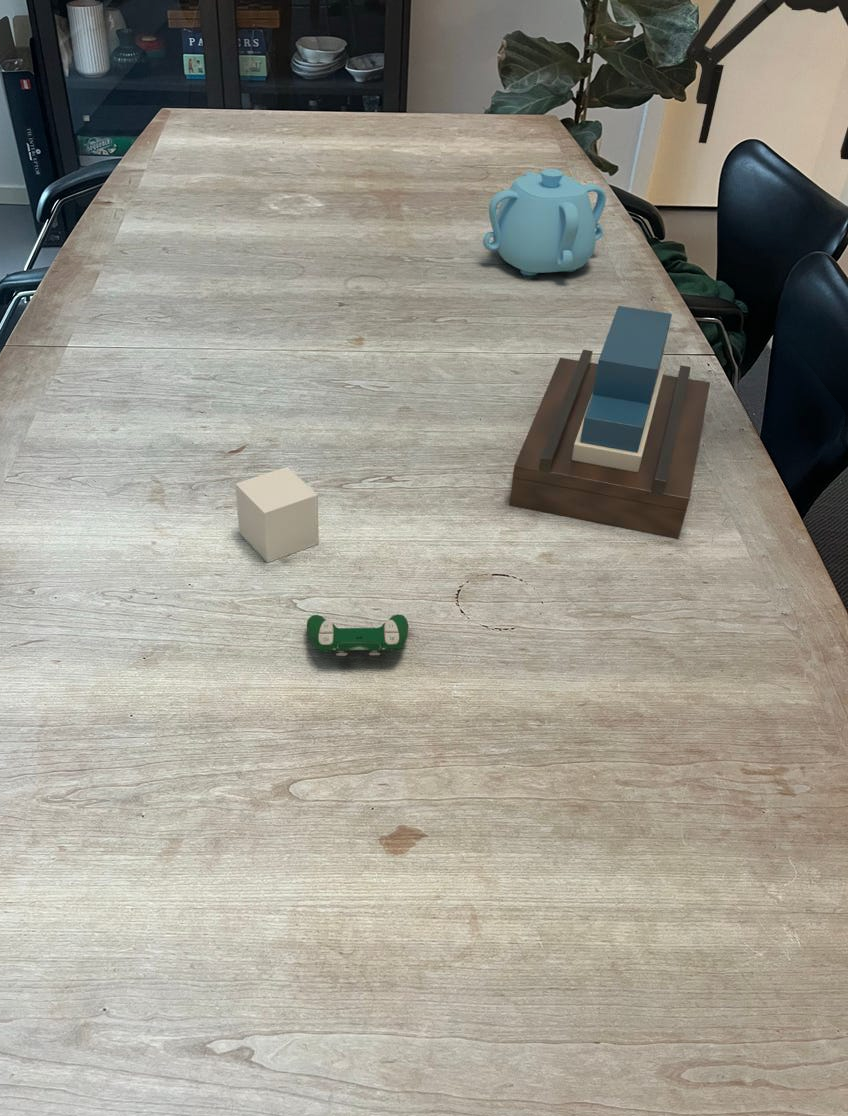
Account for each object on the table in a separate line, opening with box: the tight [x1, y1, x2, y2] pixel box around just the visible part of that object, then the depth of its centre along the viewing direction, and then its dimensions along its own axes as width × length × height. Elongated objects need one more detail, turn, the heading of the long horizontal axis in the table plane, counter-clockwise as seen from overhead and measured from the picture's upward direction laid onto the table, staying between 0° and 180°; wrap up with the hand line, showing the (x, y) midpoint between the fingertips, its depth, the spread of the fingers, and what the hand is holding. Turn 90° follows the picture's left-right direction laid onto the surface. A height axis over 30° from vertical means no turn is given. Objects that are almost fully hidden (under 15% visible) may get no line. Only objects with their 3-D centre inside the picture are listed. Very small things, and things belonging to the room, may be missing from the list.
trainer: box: [572, 305, 673, 472], centre depth 112 cm, size 20×7×9 cm, turn 162°
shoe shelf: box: [508, 349, 711, 539], centre depth 116 cm, size 18×26×6 cm
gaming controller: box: [306, 613, 409, 657], centre depth 93 cm, size 9×4×6 cm
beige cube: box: [234, 466, 320, 563], centre depth 104 cm, size 6×6×6 cm
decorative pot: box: [482, 168, 607, 276], centre depth 157 cm, size 16×16×14 cm
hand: (772, 147), depth 103 cm, fingers open, 13 cm apart
